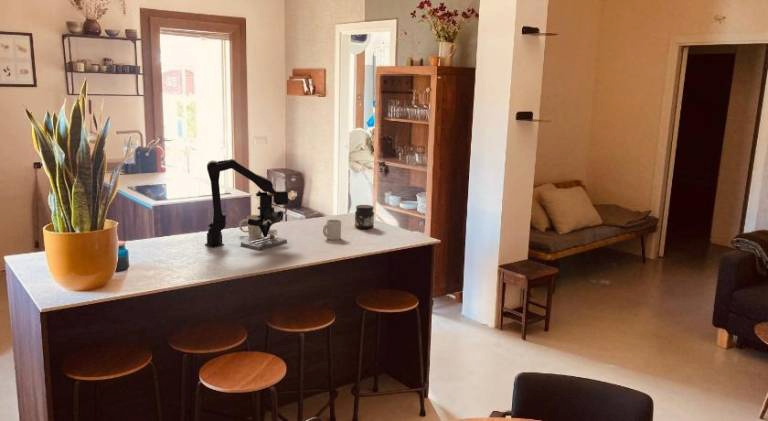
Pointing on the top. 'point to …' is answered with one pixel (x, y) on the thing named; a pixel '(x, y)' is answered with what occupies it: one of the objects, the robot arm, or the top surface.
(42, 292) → the top surface
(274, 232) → the fader tab
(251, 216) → the mug
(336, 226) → the cup
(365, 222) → the supplement container
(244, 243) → the console board
